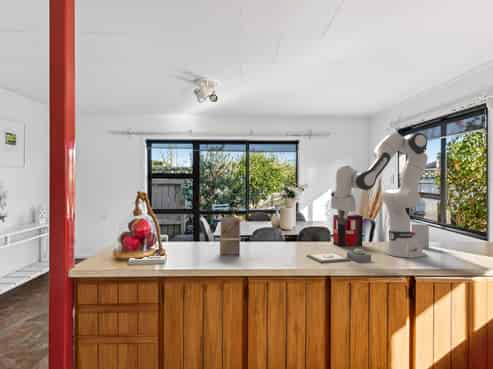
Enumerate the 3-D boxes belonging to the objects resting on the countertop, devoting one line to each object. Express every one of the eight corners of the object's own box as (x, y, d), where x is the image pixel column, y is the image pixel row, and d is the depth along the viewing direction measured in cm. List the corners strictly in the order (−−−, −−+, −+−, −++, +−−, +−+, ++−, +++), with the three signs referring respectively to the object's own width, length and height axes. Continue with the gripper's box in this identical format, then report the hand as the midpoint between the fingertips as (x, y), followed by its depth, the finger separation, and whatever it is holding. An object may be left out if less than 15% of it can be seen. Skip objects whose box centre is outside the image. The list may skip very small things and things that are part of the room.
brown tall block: (219, 254, 202) (219, 211, 202) (239, 254, 203) (239, 211, 203) (219, 257, 195) (220, 212, 194) (240, 257, 196) (240, 212, 195)
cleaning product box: (338, 246, 226) (338, 216, 225) (333, 244, 235) (333, 214, 234) (362, 246, 228) (362, 216, 228) (356, 243, 237) (356, 214, 236)
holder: (143, 247, 221) (143, 243, 221) (172, 247, 223) (172, 243, 223) (128, 265, 176) (128, 260, 176) (164, 264, 179) (164, 259, 179)
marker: (343, 223, 201) (343, 206, 201) (347, 224, 198) (347, 207, 198) (337, 223, 200) (338, 206, 200) (341, 224, 197) (341, 207, 197)
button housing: (360, 257, 195) (360, 251, 195) (370, 261, 187) (371, 254, 186) (346, 258, 192) (346, 252, 192) (356, 262, 184) (356, 255, 184)
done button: (359, 253, 192) (359, 248, 192) (365, 255, 188) (365, 250, 188) (352, 254, 191) (352, 249, 191) (357, 256, 186) (357, 250, 186)
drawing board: (334, 254, 202) (334, 252, 202) (350, 260, 187) (350, 258, 187) (306, 256, 196) (306, 254, 196) (321, 263, 181) (321, 260, 181)
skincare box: (429, 247, 223) (429, 223, 223) (423, 249, 220) (424, 224, 219) (416, 245, 230) (417, 222, 230) (411, 246, 227) (411, 223, 226)
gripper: (359, 195, 190) (358, 220, 190) (338, 193, 209) (337, 216, 210) (349, 194, 188) (348, 220, 188) (329, 193, 207) (328, 216, 208)
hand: (342, 218), depth 199 cm, fingers closed on marker, 3 cm apart
